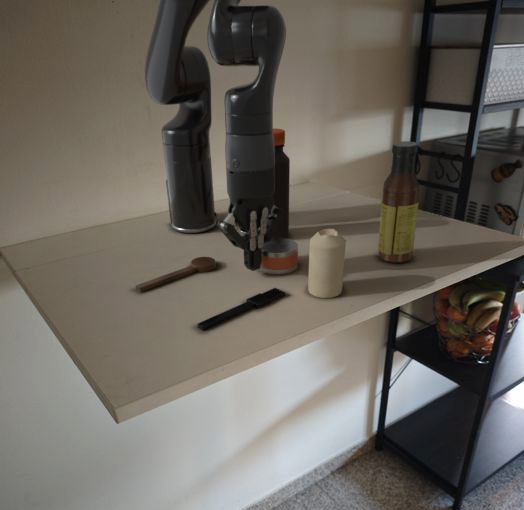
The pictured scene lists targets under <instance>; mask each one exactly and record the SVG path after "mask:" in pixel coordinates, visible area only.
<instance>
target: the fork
mask: <svg viewBox="0 0 524 510" xmlns="http://www.w3.org/2000/svg"><path fill="white" fill-rule="evenodd" d="M285 296H286V291H283V290H281V289H279V288H277V287H273V288H271V289H269V290H267V291H265V292H262V293H258V294H255V295H253V296H251V297H248V298H246V301H245V302H242V303H241V304H239V305H237V306H234V307H231V308H229V309H228V310H225V311H223V312H220V313H219V314H216V315H214V316H211V317H209V318H207V319H204V320H203V321H200V322H198V323H197V324H196V325H197V328H198V329H199V330H201V331H202V332H203V331H206V330H208V329H210V328H213V327H215V326H217V325H219V324H221V323H223V322H226V321H228V320H230V319H232V318H234V317H236V316H238V315H241V314H243V313H246V312H248V311H250V310H251V309H254V308H255V309H260V308H263V307H265V306H266V305H268V304H271V303H272V302H274V301H276V300H278V299H280V298H283V297H285Z"/></svg>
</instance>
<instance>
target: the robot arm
mask: <svg viewBox="0 0 524 510" xmlns="http://www.w3.org/2000/svg"><path fill="white" fill-rule="evenodd" d="M210 2H211V0H159V2H158V7H157V11H156V16H155V19H154V23H153V27H152V31H151V35H150V40H149V42H148V49H147V52H146V56H145V63H144V82H145V87H146V90H147V93H148V95H149V98H150V99H151V100H152V101H153V102H154V103H156V104H158V105H161V106H174V105H179V107H178V110H177V113H176V114H175V115H174V117H173V118H172V119H171V120H169V121H167V123H165V124H164V125H163V126H162V128H161V140H162V149H163V156H164V165H165V172H166V180H165V187H166V197H167V205H168V211H169V212H168V213H169V220H170V225H171V227H172V229H173V230H174V231H176V232H178V233H185V234H198V233H199V234H200V233H204V232H207V231H210V230H212V229H214V228H216V226H217V228H218V229H219V231H221V233H222V234H223V235H224V236H225V238H227V240H228V241H229V242H230V243H231V244H232V246H233V247H235V248H238V249H241V250H243V265H244V267H246V269H247V270H250V271H251V272H254V271H258V270H259V269H260V265H261V263H262V247H263V245H264V243H266V242H270V241H271V239H272V237H273V235H274V233H275V231H276V229H277V227H278V225H279V223H280V221H281V219H282V217H283V214H284V210H283V209H280V208H277V207H276V206H275V205H274V200H273V198H272V195H273V194H274V192H275V147H274V139H273V128H274V96H275V87H276V82H277V77H278V72H279V67H280V65H281V60H282V58H283V57H282V56H283V53H284V49H285V44H286V38H287V26H286V22H285V21H286V20H285V18H284V16H283V14H282V12H281V11H280V9H278V7H276V6H274V5H270V4H263V5H261V4H259V5H240V3H241V2H242V0H214V1H213V4H212V8H211V12H210V15H209V21H208V26H207V35H206V38H207V40H206V41H207V47H208V51H209V53H210V56H211V57H212V59H213V61H214V62H215V63H216V64H217V65H219V66H220V67H225V68H243V67H244V68H245V67H246V68H247V67H251V68H252V67H257V68H258V73H257V75H256V77H255V78H254V80H252V81H251V82H249V83H246V84H245V83H244V84H242V85H236V86H232V87H230V88H228V89H227V90H226V91H225V94H224V102H223V104H224V123H225V142H224V143H225V144H224V146H225V147H224V149H225V150H224V156H225V173H226V174H225V175H226V193H227V195H228V198H229V205H228V208H227V212H228V214H227V216H226V217H225V218H224V220H219V221H218V222H217V220H216V218H217V212H216V210H215V195H214V181H213V167H212V153H211V139H210V132H211V127H212V119H213V118H212V117H213V116H212V79H211V71H210V66H209V63H208V59H207V57H206V55H205V53H204V52H203V51H202V50H201V48H199V47H197V46H196V45H195V46H194V45H186V42H187V40H188V39H187V38H188V36H189V34H190V31H191V29H192V28H193V26H194V24H195V23H196V21H197V19H198V18H199V17H200V15H201V14H202V12H203V11H204V10H205V9H206V7H207V5H209V4H210ZM267 228H269V229H268V231H267V233H266V230H267Z"/></svg>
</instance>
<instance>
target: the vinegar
mask: <svg viewBox="0 0 524 510" xmlns="http://www.w3.org/2000/svg"><path fill="white" fill-rule="evenodd" d="M273 139H274V147H275V192H274V194H273V195H272V198H273V200H274V205H275V206H276V207H277V208H280V209H283V210H284V214H283V217H282V219H281V221H280V223H279V225H278V227H277V229H276V231H275V233H274V235H273V237H272V238H286V239H287V238H288V236H289V234H290V170H291V168H290V166H291V165H290V163H291V160H290V158H289V156H288V154H287V153H285V151H284V147H285V144H286V130H285V129H282V128H275V127H273ZM268 229H269V228H267V230H266V233H267V231H268Z"/></svg>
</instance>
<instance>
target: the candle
mask: <svg viewBox="0 0 524 510" xmlns="http://www.w3.org/2000/svg"><path fill="white" fill-rule="evenodd" d="M346 246H347V241H346V239H345V238H344V236H343V235H342V234H340V233H339V232H338V231H337V230H336V229H334V228H323V229H321V230H320V231H318V230H317V232H316V233H315V234H314V235H312V236H311V238H310V239H309V251H308V252H309V253H308V278H307V279H308V280H307V288H308V293H309V294H310V295H311V296H314V297H317V298H321V299H331V298H335V297H337V296H340V295H341V294H342V291H343V283H344V271H345V257H346Z"/></svg>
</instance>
